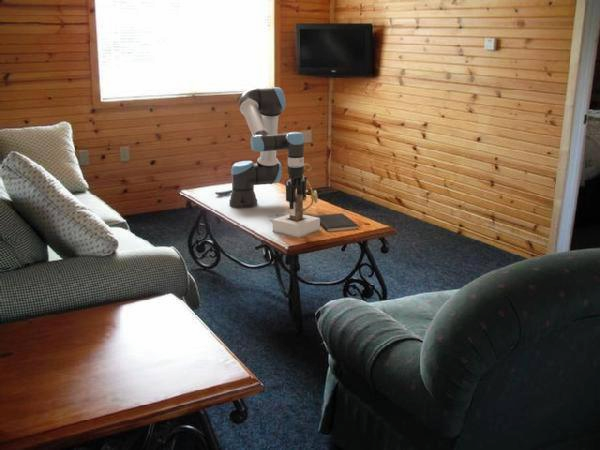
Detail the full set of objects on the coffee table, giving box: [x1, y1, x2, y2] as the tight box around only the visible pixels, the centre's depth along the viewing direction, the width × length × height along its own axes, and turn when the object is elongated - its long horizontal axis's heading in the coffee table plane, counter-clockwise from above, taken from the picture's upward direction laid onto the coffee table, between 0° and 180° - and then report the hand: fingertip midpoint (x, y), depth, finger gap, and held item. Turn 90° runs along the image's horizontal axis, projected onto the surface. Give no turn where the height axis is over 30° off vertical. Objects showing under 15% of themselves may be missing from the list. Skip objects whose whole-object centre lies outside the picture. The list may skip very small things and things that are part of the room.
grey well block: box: [272, 213, 321, 239], centre depth 334 cm, size 16×16×6 cm
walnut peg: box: [290, 193, 304, 222], centre depth 332 cm, size 4×4×14 cm
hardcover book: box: [312, 213, 359, 233], centre depth 346 cm, size 16×23×2 cm
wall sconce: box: [295, 163, 318, 211], centre depth 368 cm, size 14×10×25 cm
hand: (296, 214), depth 333 cm, fingers closed on walnut peg, 4 cm apart
